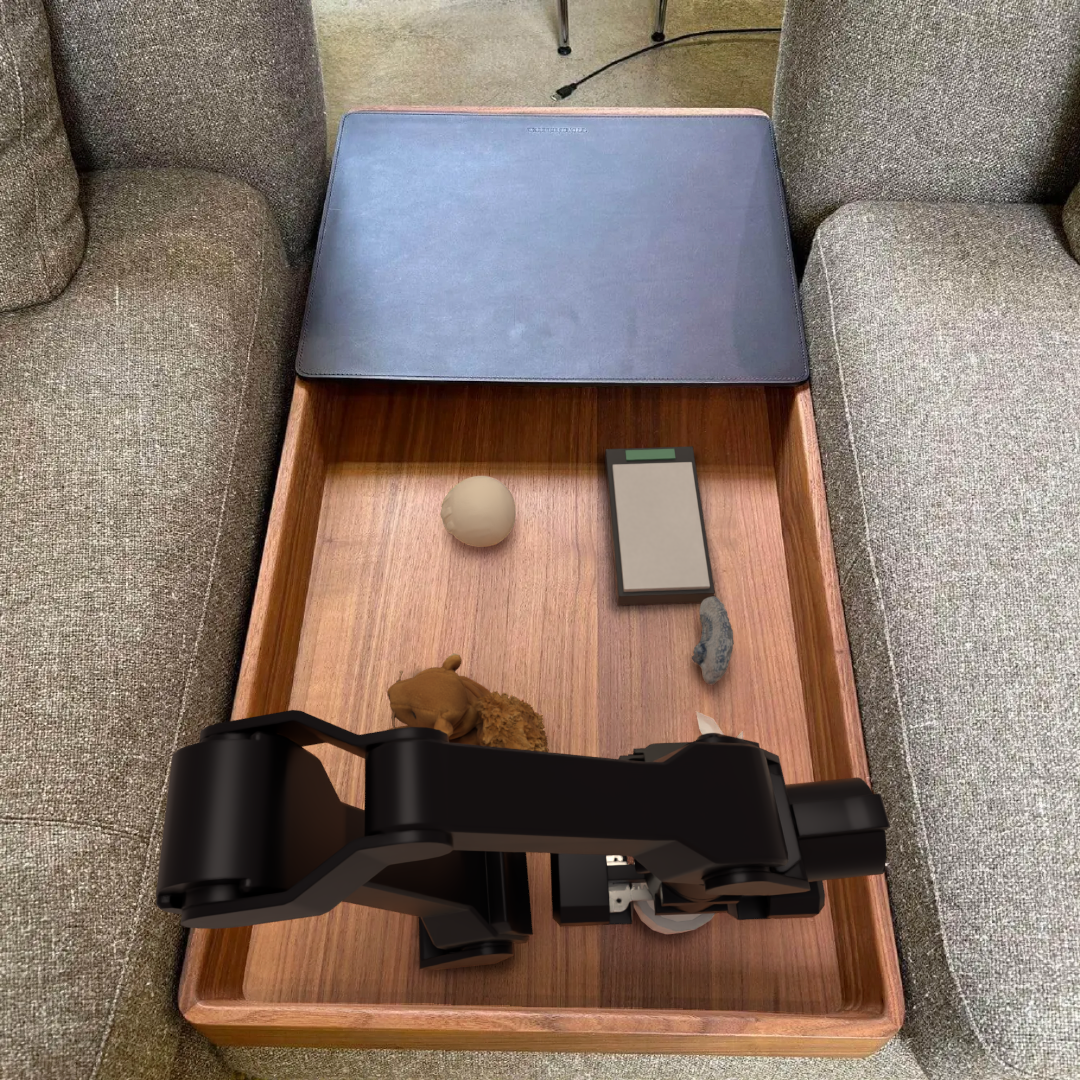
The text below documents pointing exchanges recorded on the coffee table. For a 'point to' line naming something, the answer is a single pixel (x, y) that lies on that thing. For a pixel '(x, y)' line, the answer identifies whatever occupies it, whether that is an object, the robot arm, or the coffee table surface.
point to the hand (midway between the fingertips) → (669, 893)
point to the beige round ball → (479, 511)
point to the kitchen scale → (657, 526)
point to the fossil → (714, 640)
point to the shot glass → (668, 917)
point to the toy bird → (710, 725)
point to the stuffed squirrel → (465, 710)
